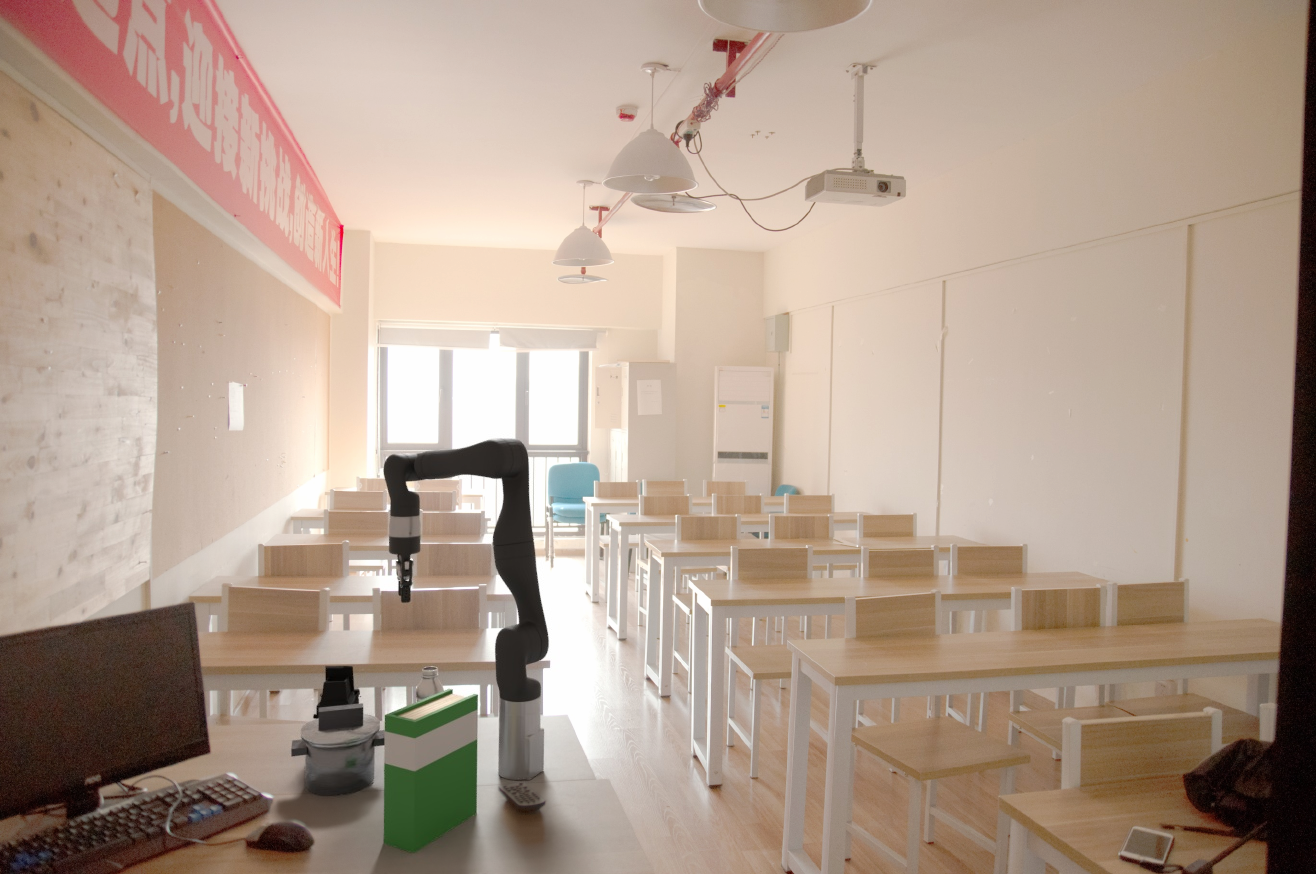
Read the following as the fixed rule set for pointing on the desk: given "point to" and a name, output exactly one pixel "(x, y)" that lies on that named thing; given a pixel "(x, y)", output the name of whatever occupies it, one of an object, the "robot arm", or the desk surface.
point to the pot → (338, 765)
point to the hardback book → (429, 769)
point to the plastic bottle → (428, 684)
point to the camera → (338, 688)
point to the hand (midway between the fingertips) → (404, 598)
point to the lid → (340, 726)
